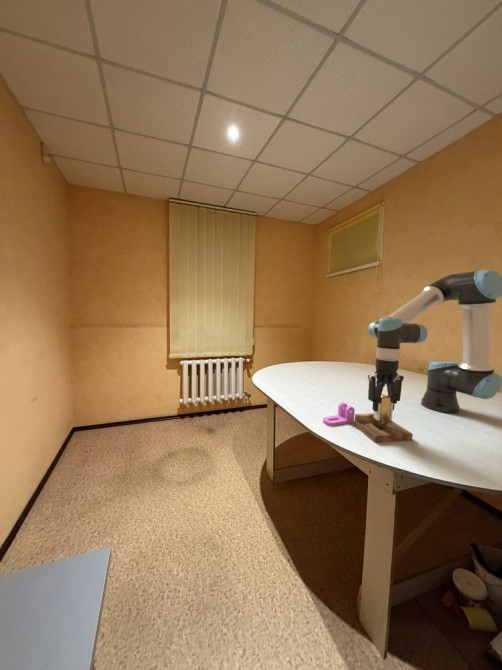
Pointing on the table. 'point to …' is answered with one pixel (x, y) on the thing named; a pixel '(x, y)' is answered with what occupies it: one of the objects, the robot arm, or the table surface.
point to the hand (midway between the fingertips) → (382, 418)
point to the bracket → (341, 416)
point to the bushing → (384, 409)
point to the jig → (372, 431)
